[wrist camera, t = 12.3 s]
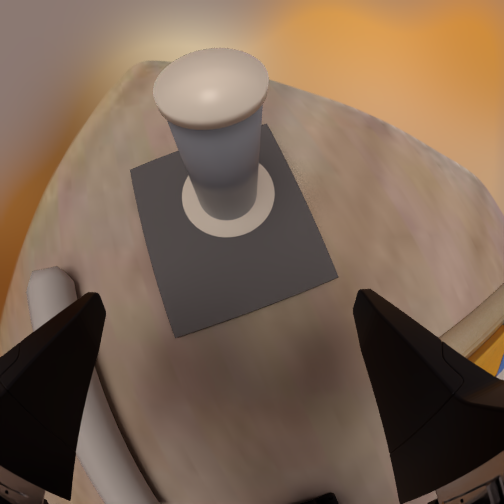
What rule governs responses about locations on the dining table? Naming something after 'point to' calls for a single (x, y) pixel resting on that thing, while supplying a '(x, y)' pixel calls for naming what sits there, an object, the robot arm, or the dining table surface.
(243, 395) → the dining table surface
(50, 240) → the dining table surface
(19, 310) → the dining table surface
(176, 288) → the mat
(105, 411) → the tube
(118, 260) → the dining table surface
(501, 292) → the wooden puzzle
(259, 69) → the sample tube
